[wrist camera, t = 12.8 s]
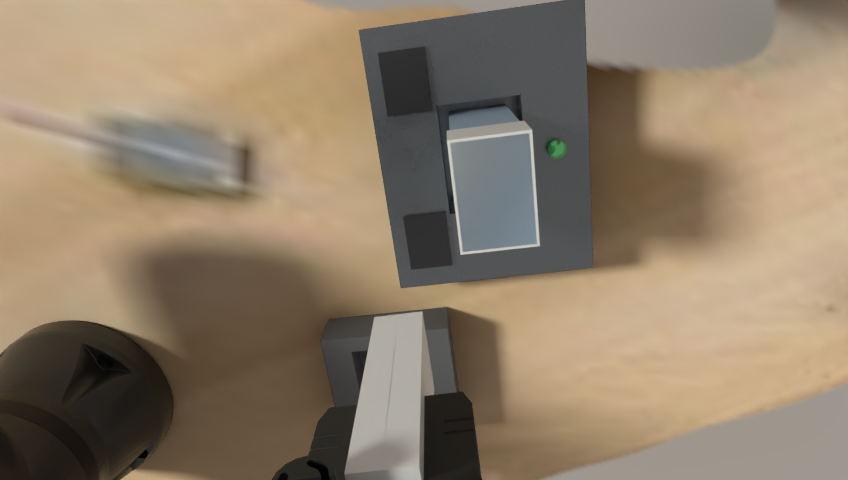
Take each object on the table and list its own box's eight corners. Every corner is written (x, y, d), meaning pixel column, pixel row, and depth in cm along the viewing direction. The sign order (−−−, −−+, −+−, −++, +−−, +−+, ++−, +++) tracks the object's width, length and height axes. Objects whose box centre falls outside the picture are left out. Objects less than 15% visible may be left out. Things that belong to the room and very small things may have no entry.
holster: (350, 417, 50) (343, 443, 47) (328, 319, 47) (320, 340, 44) (460, 407, 50) (461, 433, 46) (447, 307, 46) (447, 328, 43)
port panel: (404, 266, 45) (400, 291, 41) (367, 30, 39) (357, 30, 35) (580, 247, 44) (595, 271, 40) (570, 0, 38) (586, -4, 33)
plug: (456, 194, 42) (460, 255, 30) (446, 109, 40) (446, 140, 28) (514, 187, 41) (539, 246, 30) (507, 101, 39) (532, 129, 28)
